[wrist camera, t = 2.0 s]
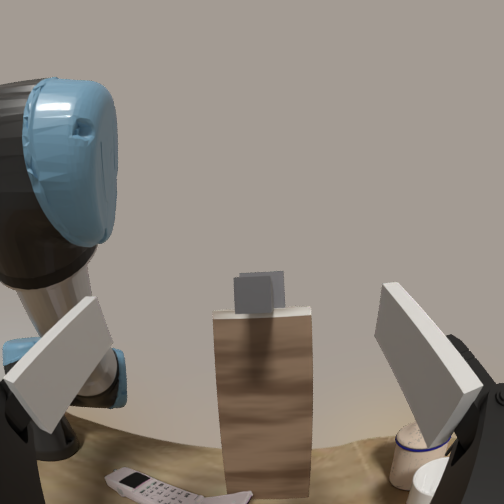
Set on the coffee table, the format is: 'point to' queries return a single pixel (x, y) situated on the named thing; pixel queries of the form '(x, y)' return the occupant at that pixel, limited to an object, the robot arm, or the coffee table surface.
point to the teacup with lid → (411, 455)
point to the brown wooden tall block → (265, 400)
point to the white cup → (426, 481)
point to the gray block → (259, 292)
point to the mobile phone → (163, 490)
